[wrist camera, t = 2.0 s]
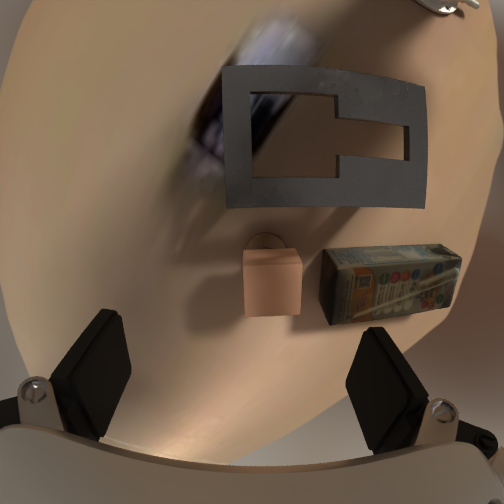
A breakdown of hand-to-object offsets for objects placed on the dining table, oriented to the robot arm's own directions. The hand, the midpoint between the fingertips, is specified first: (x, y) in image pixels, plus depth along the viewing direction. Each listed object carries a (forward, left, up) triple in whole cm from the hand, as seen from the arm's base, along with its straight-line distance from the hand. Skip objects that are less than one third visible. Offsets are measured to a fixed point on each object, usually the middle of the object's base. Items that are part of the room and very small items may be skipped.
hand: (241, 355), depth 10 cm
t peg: (-2, +4, -24) cm, 24 cm away
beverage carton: (-19, +8, -24) cm, 31 cm away
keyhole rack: (-7, -9, -24) cm, 26 cm away
